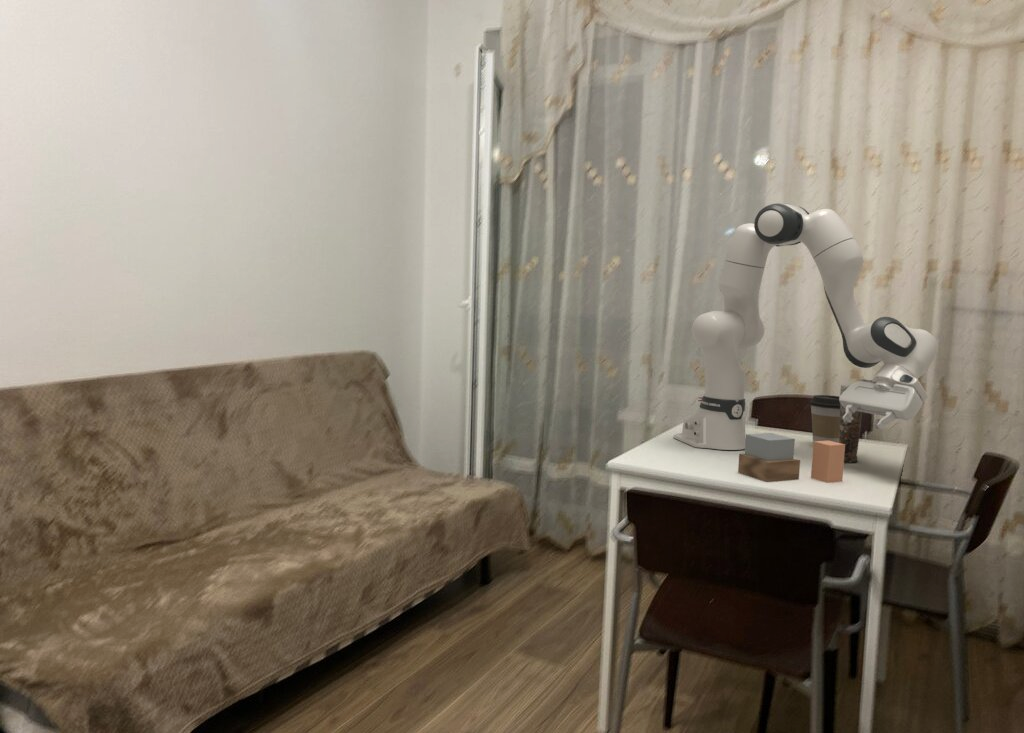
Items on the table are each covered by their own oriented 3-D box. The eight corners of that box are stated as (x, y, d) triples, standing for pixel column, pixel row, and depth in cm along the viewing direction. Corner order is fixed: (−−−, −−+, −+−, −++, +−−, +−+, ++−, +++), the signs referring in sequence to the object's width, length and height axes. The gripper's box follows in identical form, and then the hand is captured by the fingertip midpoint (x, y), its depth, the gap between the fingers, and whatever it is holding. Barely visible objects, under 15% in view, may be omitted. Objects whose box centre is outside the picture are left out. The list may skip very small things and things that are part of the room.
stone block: (832, 453, 225) (837, 383, 224) (858, 455, 223) (864, 385, 221) (835, 462, 213) (841, 388, 211) (863, 464, 211) (870, 390, 209)
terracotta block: (810, 477, 193) (813, 441, 192) (825, 476, 195) (828, 440, 194) (826, 482, 188) (829, 445, 188) (842, 481, 191) (845, 444, 190)
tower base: (737, 473, 196) (739, 453, 195) (768, 471, 200) (770, 451, 199) (766, 483, 187) (768, 462, 186) (798, 480, 191) (800, 460, 190)
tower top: (744, 454, 195) (745, 434, 194) (769, 452, 198) (770, 432, 198) (768, 461, 187) (769, 440, 187) (793, 459, 191) (794, 438, 190)
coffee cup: (856, 450, 231) (860, 399, 229) (825, 452, 226) (829, 400, 225) (827, 443, 241) (831, 394, 240) (797, 444, 237) (801, 394, 235)
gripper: (852, 370, 206) (822, 408, 203) (923, 379, 188) (890, 422, 185) (863, 387, 209) (833, 425, 205) (934, 398, 190) (902, 440, 187)
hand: (861, 423), depth 195 cm, fingers open, 8 cm apart
